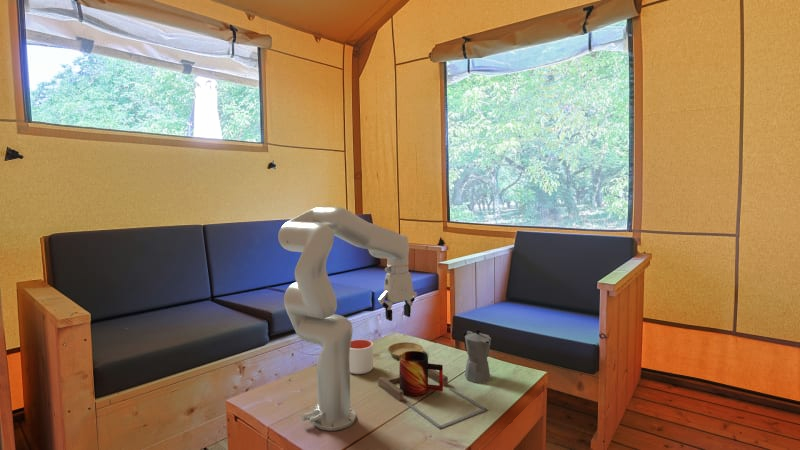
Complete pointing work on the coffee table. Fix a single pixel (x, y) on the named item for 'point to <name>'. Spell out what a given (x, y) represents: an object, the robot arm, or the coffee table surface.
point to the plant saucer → (403, 348)
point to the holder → (394, 390)
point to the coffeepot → (477, 356)
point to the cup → (361, 356)
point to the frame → (453, 420)
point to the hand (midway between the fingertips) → (398, 317)
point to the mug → (417, 374)
